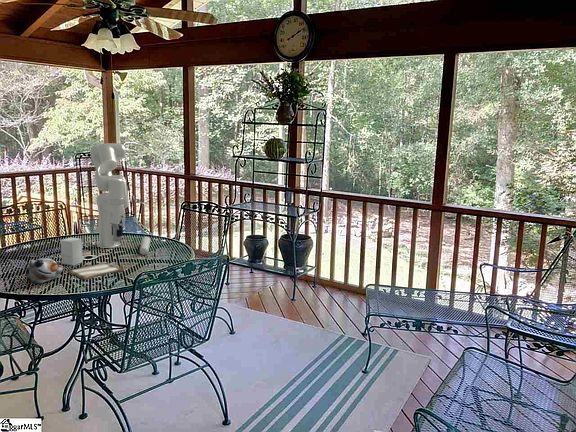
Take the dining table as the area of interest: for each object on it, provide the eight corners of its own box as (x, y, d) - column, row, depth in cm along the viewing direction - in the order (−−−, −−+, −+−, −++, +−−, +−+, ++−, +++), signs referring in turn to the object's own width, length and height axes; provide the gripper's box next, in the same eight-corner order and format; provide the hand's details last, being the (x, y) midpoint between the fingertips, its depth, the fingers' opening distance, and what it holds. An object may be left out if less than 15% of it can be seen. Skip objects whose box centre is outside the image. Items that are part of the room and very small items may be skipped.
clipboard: (68, 272, 236) (68, 269, 236) (106, 264, 251) (106, 261, 251) (85, 280, 226) (85, 276, 226) (123, 271, 241) (123, 267, 241)
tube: (150, 249, 270) (151, 237, 294) (140, 246, 268) (143, 235, 292) (147, 257, 270) (149, 246, 294) (137, 255, 269) (140, 243, 293)
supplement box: (83, 262, 254) (82, 238, 251) (72, 265, 247) (71, 241, 244) (71, 260, 256) (70, 237, 254) (61, 263, 249) (59, 240, 247)
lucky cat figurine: (62, 274, 233) (68, 252, 226) (56, 291, 223) (62, 269, 217) (28, 267, 228) (33, 244, 221) (20, 284, 218) (25, 261, 212)
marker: (111, 240, 257) (110, 217, 254) (118, 239, 260) (118, 216, 257) (115, 242, 254) (115, 219, 251) (123, 240, 257) (122, 217, 255)
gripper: (101, 200, 255) (102, 233, 259) (118, 205, 244) (119, 240, 248) (114, 198, 260) (115, 231, 264) (131, 203, 250) (132, 237, 254)
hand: (117, 235), depth 256 cm, fingers closed on marker, 4 cm apart
